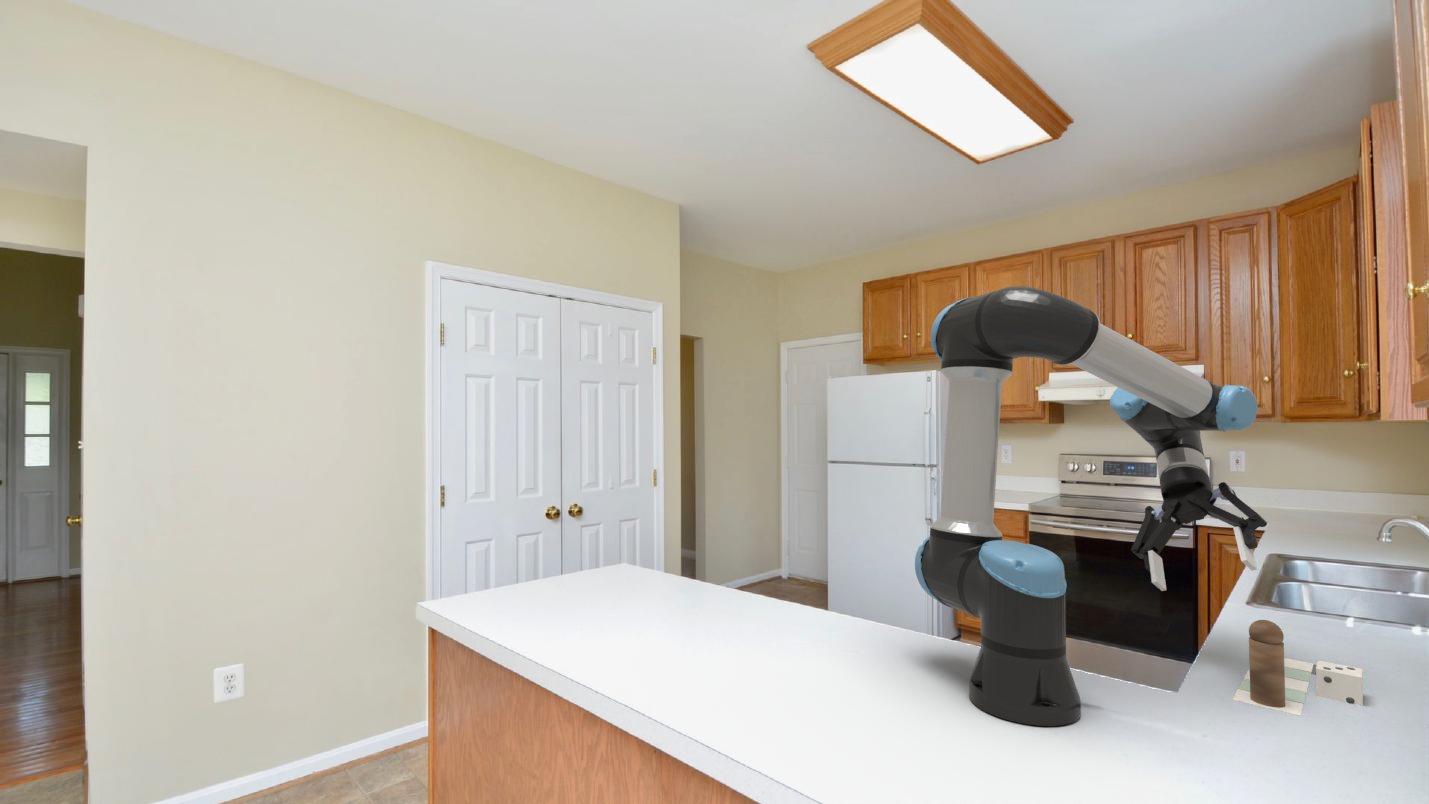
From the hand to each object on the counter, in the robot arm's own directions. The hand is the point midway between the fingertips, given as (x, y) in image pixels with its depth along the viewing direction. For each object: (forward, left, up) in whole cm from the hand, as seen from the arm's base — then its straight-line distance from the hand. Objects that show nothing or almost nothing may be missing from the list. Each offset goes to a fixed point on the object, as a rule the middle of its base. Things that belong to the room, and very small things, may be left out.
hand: (1202, 576), depth 106 cm
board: (+8, +9, -17) cm, 21 cm away
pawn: (+8, -3, -17) cm, 19 cm away
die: (+16, +8, -18) cm, 25 cm away
